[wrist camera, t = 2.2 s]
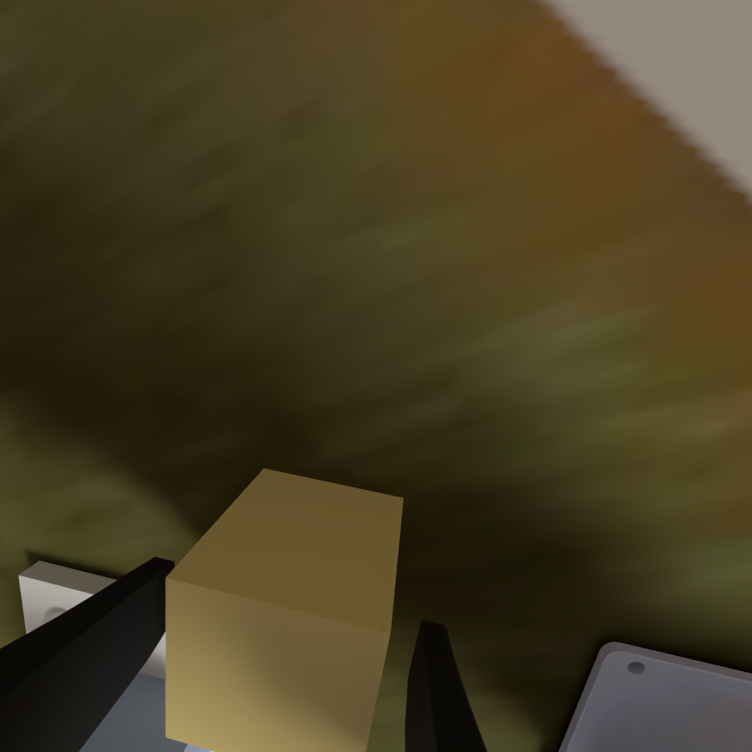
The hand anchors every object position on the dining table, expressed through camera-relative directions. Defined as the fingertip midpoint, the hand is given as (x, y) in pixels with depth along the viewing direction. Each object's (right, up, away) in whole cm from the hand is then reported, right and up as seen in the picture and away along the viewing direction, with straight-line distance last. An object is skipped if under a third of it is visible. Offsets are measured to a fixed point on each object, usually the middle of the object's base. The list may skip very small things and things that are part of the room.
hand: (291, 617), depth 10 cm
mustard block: (0, +1, +3) cm, 3 cm away
